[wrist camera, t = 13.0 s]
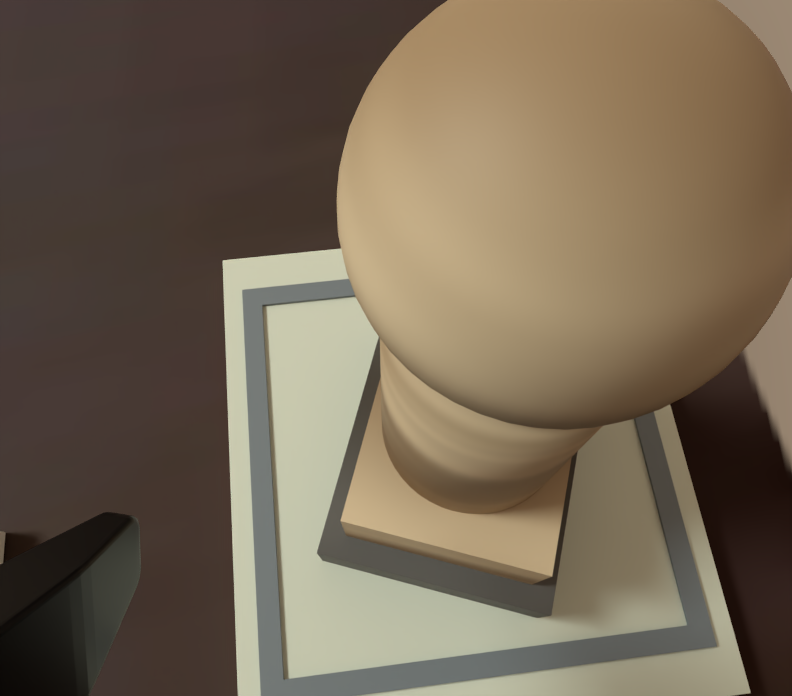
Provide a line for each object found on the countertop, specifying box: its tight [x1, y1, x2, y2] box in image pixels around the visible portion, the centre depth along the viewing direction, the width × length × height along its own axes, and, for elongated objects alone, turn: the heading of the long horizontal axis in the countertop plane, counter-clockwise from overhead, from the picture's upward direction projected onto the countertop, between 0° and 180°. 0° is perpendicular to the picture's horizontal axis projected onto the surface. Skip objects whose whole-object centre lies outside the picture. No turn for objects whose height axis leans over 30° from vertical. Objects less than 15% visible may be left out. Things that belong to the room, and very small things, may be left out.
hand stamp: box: [317, 0, 792, 618], centre depth 11 cm, size 6×5×13 cm
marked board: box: [223, 249, 751, 696], centre depth 18 cm, size 12×11×1 cm
